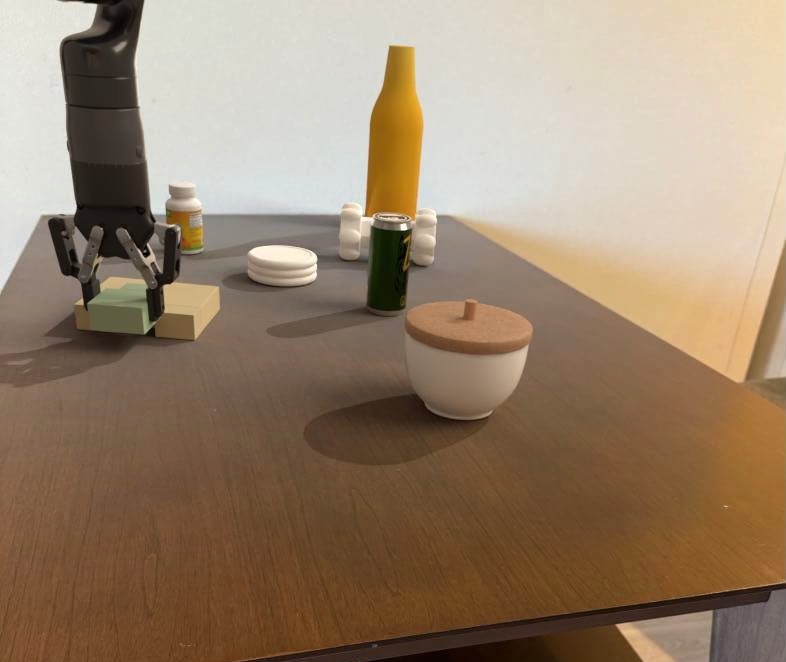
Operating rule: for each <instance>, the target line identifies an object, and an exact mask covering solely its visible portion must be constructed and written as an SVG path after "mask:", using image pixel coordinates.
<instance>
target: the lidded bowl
mask: <svg viewBox="0 0 786 662" xmlns="http://www.w3.org/2000/svg"><path fill="white" fill-rule="evenodd" d="M533 329H534V328H533V326H532V324H531V322H530V321H529V320H528V319H527V318H525V317H524V316H522V315H521V314H518V313H516V312H514V311H512V310H509V309H506V308H503V307H498V306H495V305H490V304H485V303H479V302H478V300H476V299H474V298H468V299H467V298H466V299H465V300H464V301H458V300H456V301H455V300H452V301H451V300H450V301H449V300H448V301H446V300H445V301H434V302H427V303H423V304H420V305H417V306H413V307H412V308H411V309H409V310H408V311H407V313H405V316H404V330H405V333H404V348H403V349H404V363H405V369H406V374H407V378H408V380H409V383H410V385H411V387H412V389H413V390H414V392H415V393H416V394H417V396H418V397H419V398H420V399H421V400H422V401H423V402H424V407H425V408H426V409H427V410H428V411H429V412H431V413H433V414H435V415H437V416H440V417H443V418H447V419H451V420H452V419H453V420H457V421H460V420H461V421H474V420H475V421H476V420H480V419H484V418H486V417H489V416H491V414H492V413H493V411H494V410H495V409H497V408H498V407H500V406H501V405H502V404H504V403H505V402H506V401H507V400H508V399H509V397H510V396H511V395H512V394H513V393H514V391H515V390H516V388H517V387H518V385H519V382H520V380H521V378H522V376H523V373H524V369H525V367H526V362H527V358H528V353H529V348H530V343H531V341H532V336H533V333H534V331H533Z"/></svg>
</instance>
